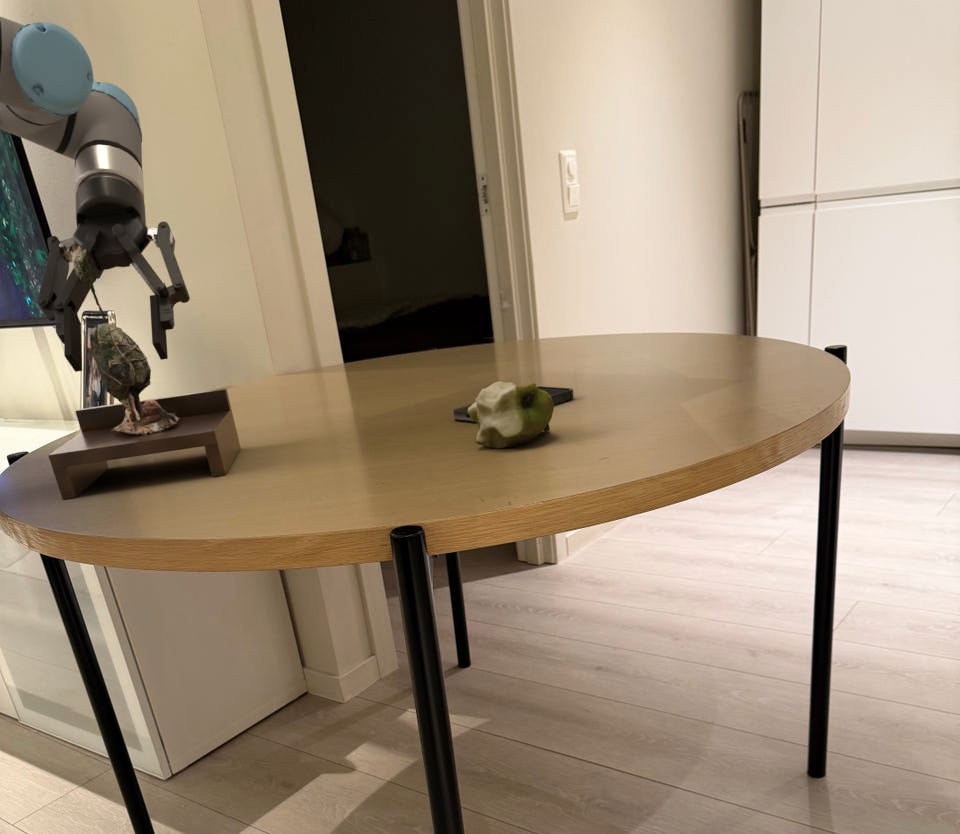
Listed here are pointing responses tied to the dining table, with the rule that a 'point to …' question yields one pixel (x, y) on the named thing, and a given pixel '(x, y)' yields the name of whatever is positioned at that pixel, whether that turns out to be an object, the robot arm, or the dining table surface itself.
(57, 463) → the bench
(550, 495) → the dining table surface
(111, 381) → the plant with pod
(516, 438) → the fruit
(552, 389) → the phone
